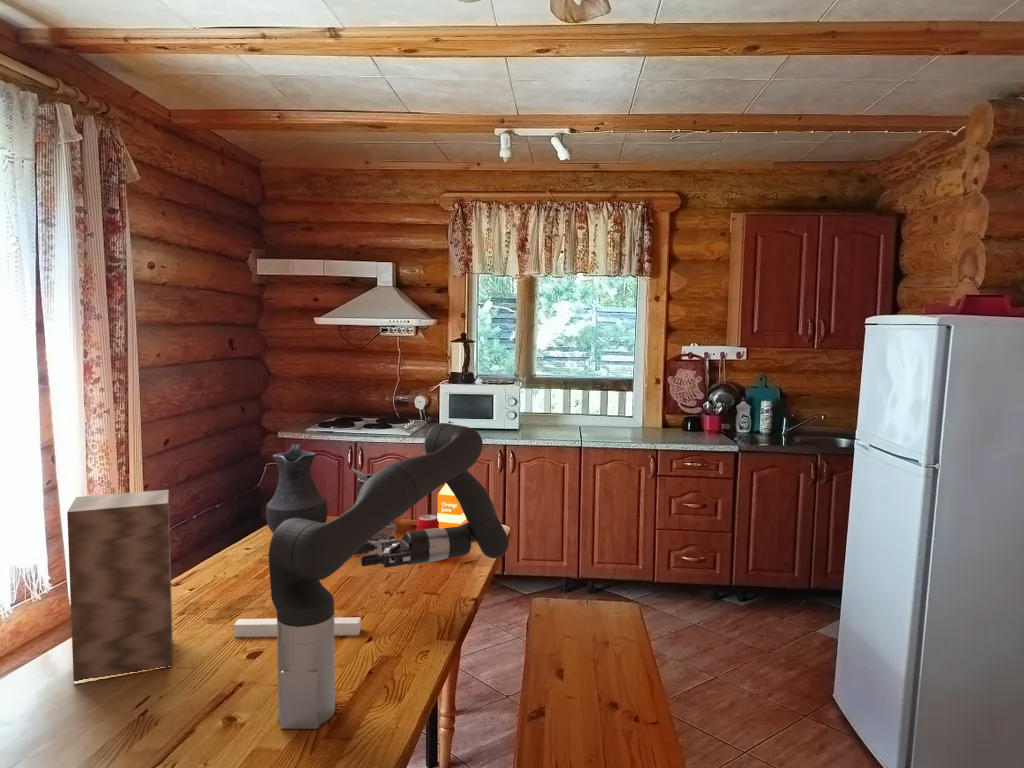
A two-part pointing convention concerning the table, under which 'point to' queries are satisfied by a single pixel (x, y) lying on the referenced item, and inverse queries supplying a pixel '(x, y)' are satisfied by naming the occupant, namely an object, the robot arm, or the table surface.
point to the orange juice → (449, 509)
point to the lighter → (387, 531)
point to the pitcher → (295, 490)
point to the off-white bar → (270, 627)
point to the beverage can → (427, 522)
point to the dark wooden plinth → (120, 583)
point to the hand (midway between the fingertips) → (356, 555)
